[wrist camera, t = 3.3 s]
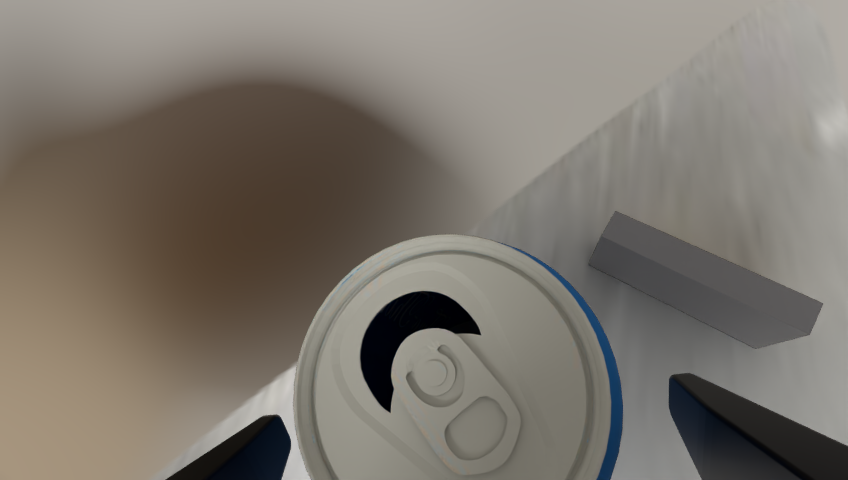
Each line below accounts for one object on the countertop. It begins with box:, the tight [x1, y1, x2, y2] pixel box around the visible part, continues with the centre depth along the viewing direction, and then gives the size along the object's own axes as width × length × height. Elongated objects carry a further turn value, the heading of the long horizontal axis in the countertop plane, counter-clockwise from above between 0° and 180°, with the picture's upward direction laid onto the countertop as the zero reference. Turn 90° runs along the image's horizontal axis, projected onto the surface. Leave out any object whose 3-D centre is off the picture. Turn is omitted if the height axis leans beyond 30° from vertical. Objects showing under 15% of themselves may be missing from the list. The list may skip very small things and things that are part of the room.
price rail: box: [589, 211, 823, 349], centre depth 17 cm, size 7×1×4 cm, turn 56°
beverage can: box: [293, 234, 623, 480], centre depth 13 cm, size 6×6×12 cm
